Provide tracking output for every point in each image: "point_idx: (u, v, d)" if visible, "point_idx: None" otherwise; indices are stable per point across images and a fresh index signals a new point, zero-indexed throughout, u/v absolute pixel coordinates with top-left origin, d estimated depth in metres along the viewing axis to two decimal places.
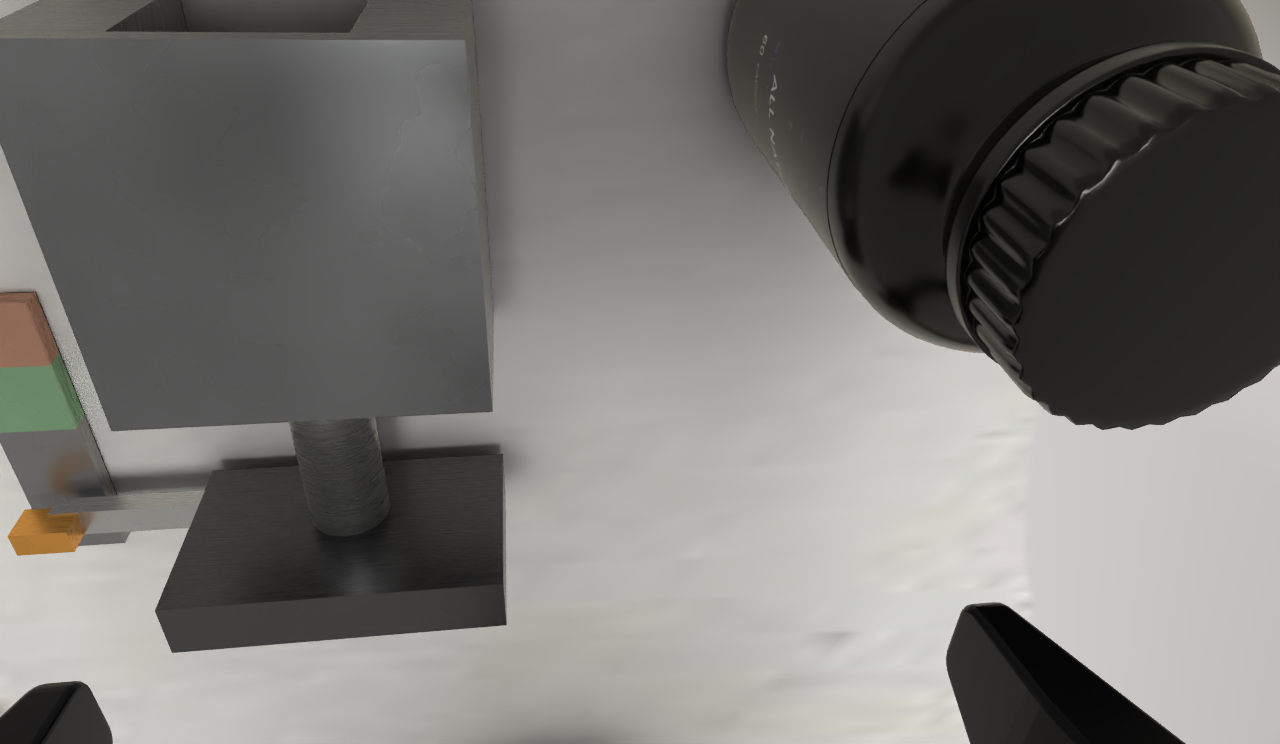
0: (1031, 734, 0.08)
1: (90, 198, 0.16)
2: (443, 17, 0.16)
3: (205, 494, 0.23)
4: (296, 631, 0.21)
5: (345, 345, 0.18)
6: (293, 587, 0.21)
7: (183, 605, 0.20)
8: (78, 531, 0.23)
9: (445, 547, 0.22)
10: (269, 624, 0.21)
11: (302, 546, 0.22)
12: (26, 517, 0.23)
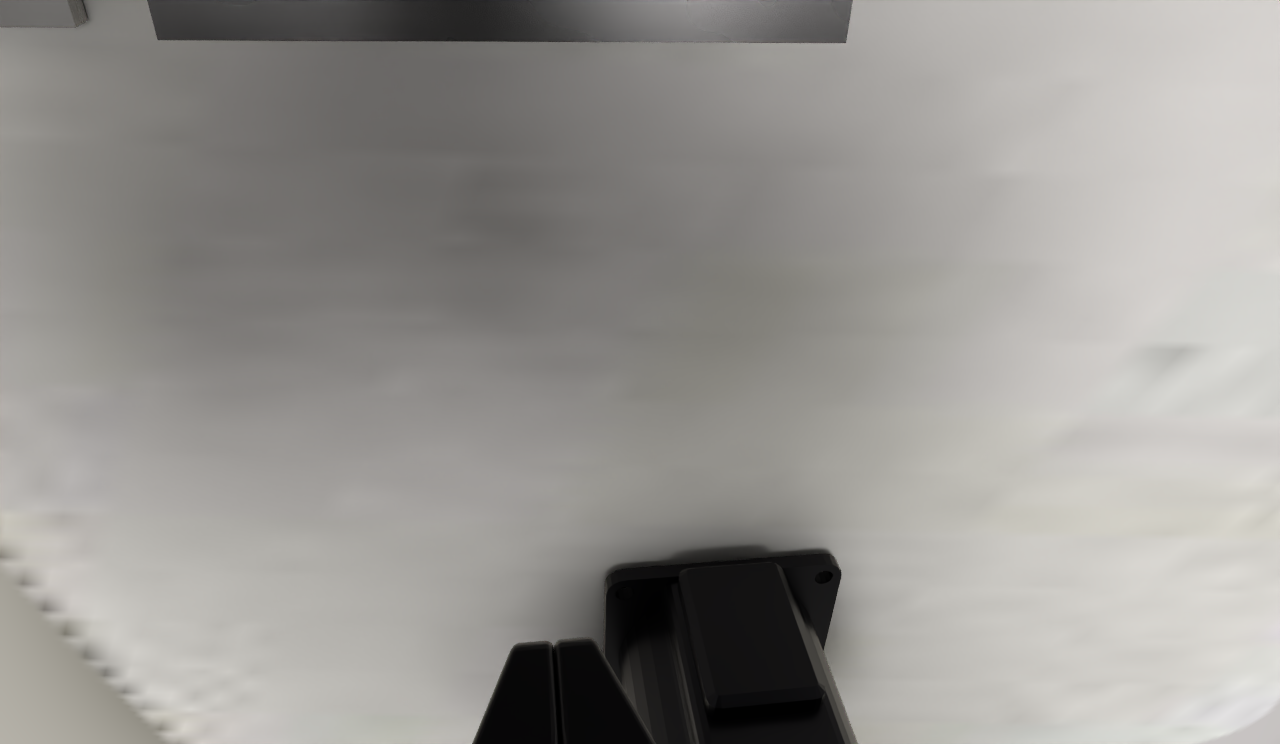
0: None
1: None
2: None
3: None
4: (424, 4, 0.10)
5: None
6: None
7: None
8: None
9: None
10: None
11: None
12: None
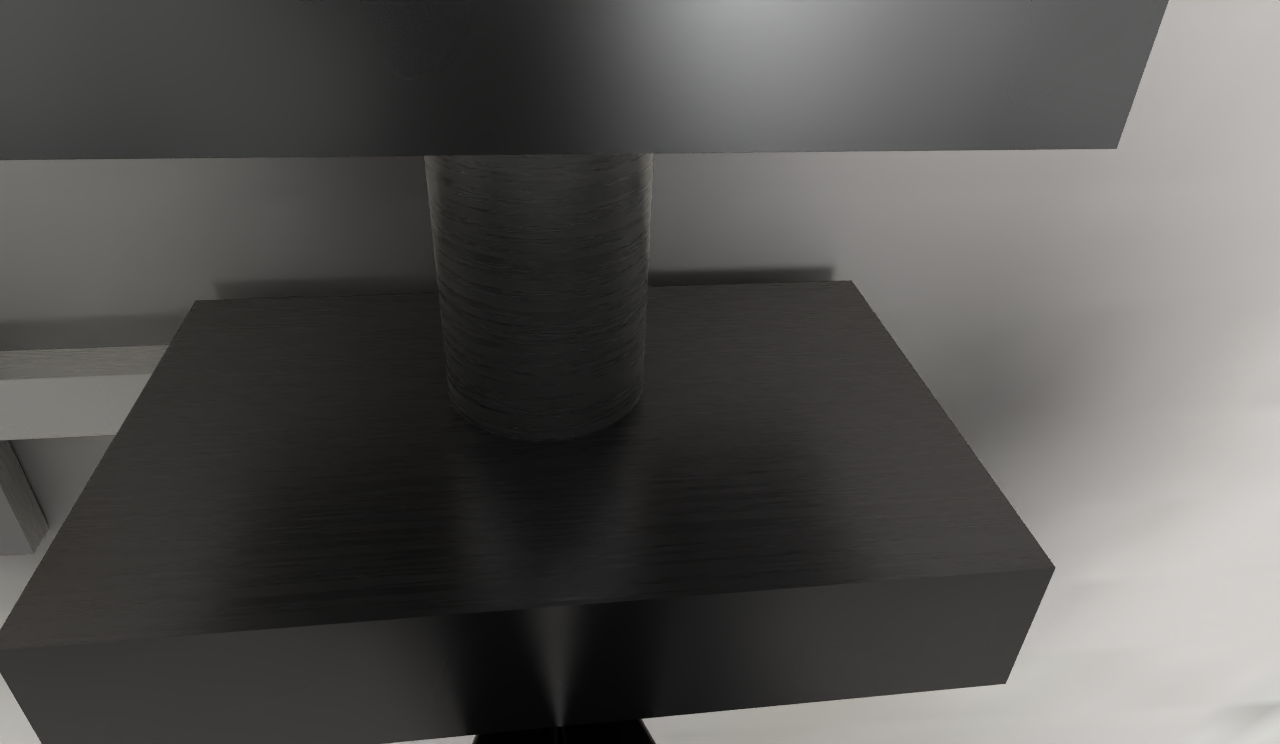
0: None
1: None
2: None
3: (174, 345, 0.09)
4: (436, 707, 0.07)
5: None
6: (433, 575, 0.07)
7: (86, 632, 0.06)
8: None
9: (831, 468, 0.08)
10: (359, 689, 0.07)
11: (437, 462, 0.08)
12: None
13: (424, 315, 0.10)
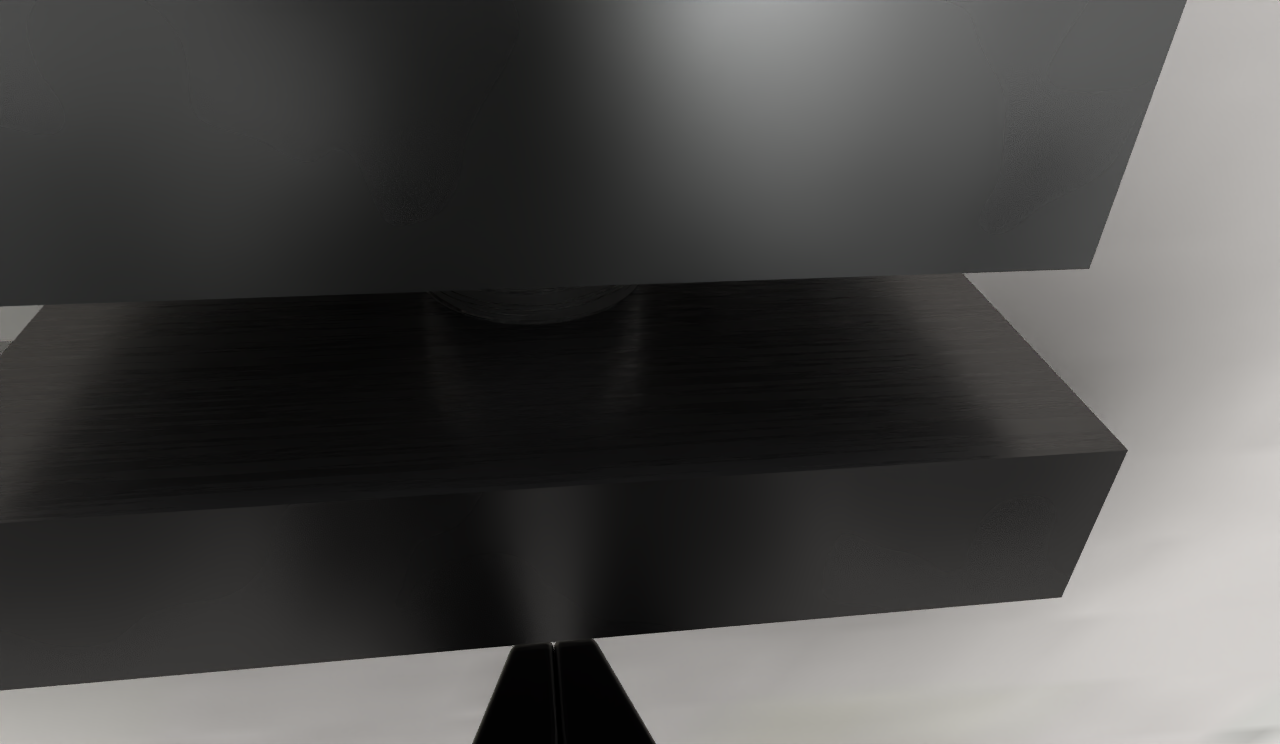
0: None
1: None
2: None
3: None
4: (398, 617, 0.06)
5: None
6: (394, 456, 0.06)
7: None
8: None
9: (860, 350, 0.07)
10: (307, 591, 0.06)
11: (406, 344, 0.07)
12: None
13: None
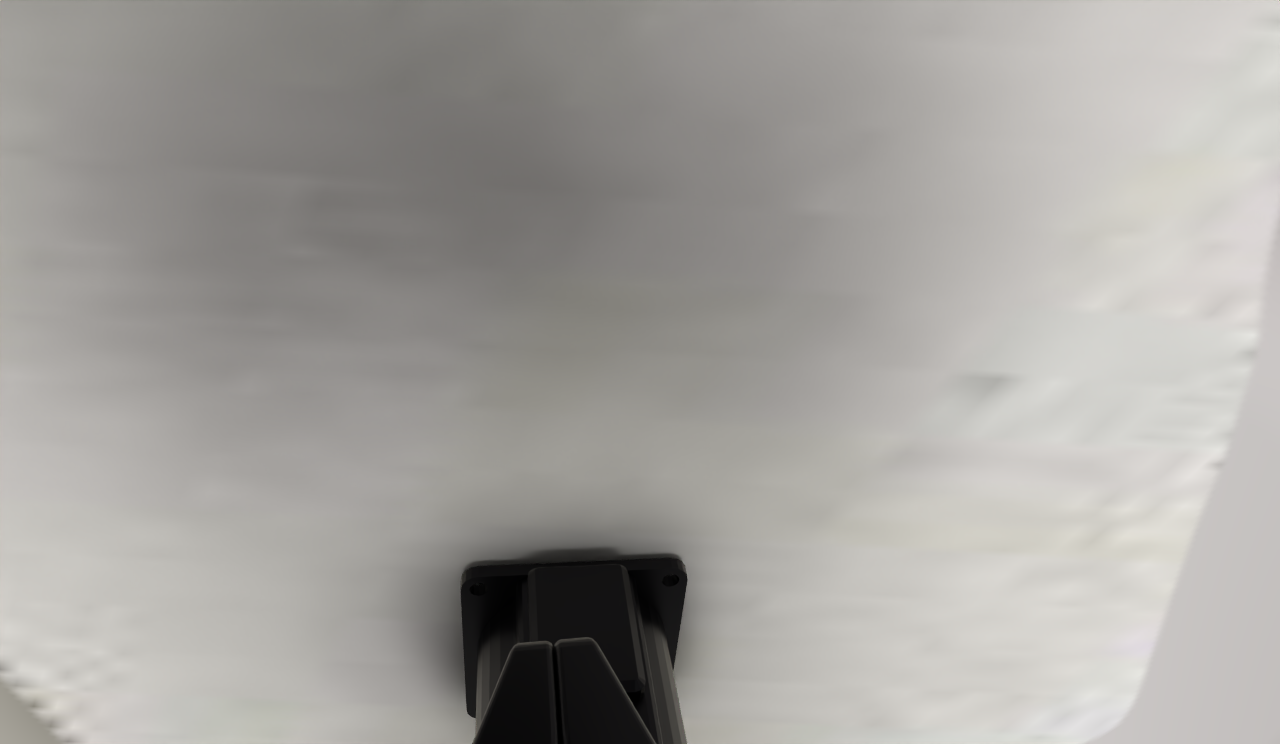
0: None
1: None
2: None
3: None
4: None
5: None
6: None
7: None
8: None
9: None
10: None
11: None
12: None
13: None
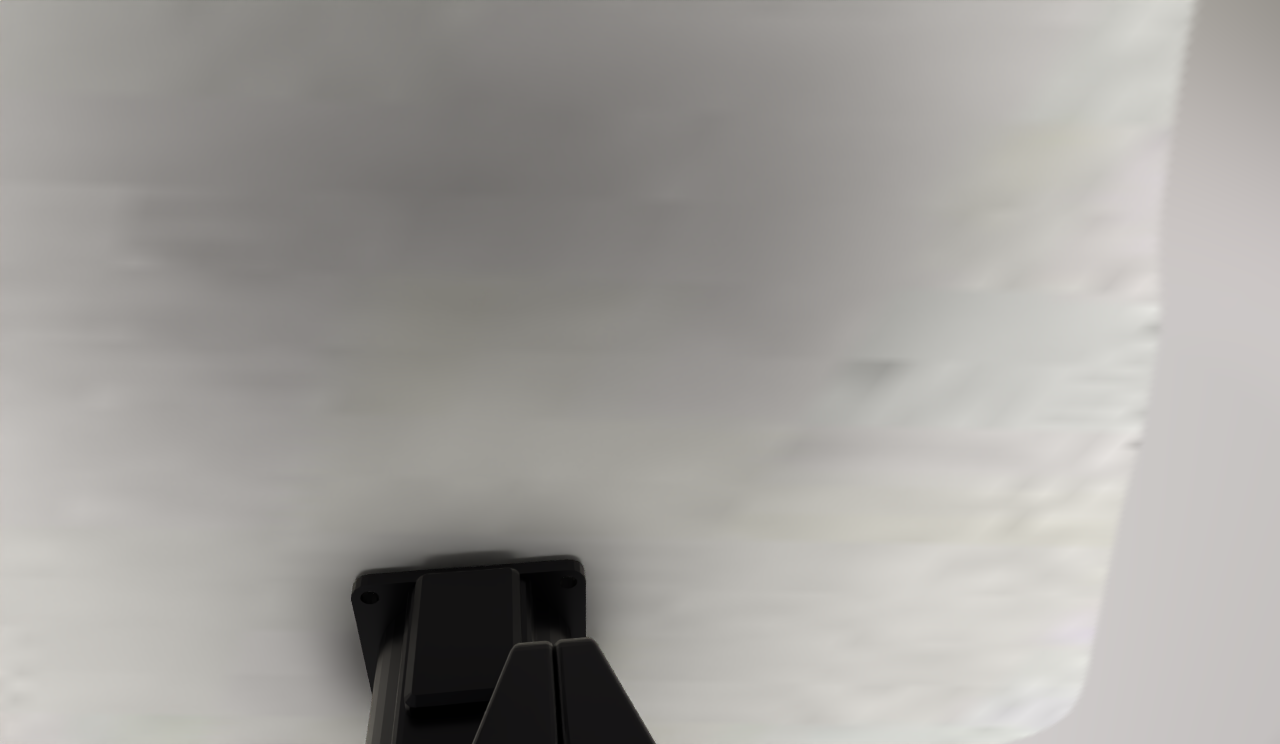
0: None
1: None
2: None
3: None
4: None
5: None
6: None
7: None
8: None
9: None
10: None
11: None
12: None
13: None
